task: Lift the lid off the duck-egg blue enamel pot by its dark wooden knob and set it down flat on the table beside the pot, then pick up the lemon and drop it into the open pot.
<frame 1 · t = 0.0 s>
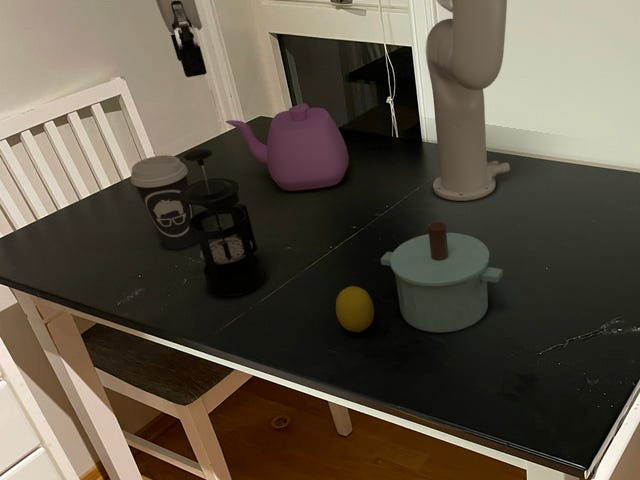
hand: (192, 67, 116), 31 cm above the table, tool pointing down, fingers open, 9 cm apart
coffee cup: (181, 241, 137), on the table
teapot: (309, 179, 156), on the table
pot: (444, 306, 115), on the table
lid: (440, 259, 110), point 8 cm above the table, touching pot
lemon: (359, 332, 111), on the table
french press: (238, 282, 125), on the table
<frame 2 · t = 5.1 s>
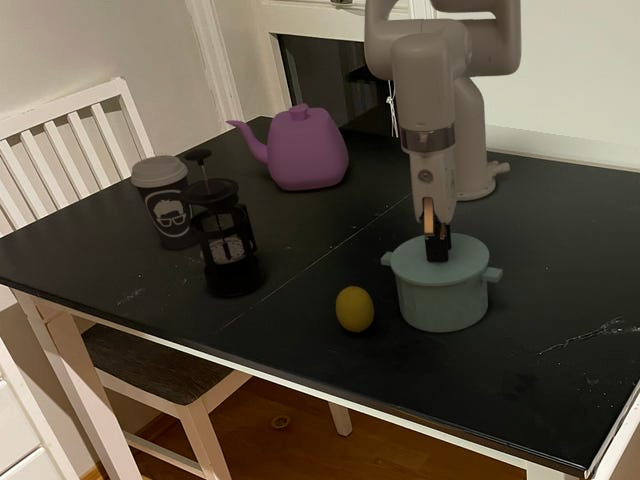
hand: (439, 254, 110), 9 cm above the table, tool pointing down, fingers closed on lid, 2 cm apart
lid: (440, 259, 110), point 9 cm above the table, touching gripper, pot
everything else where it was.
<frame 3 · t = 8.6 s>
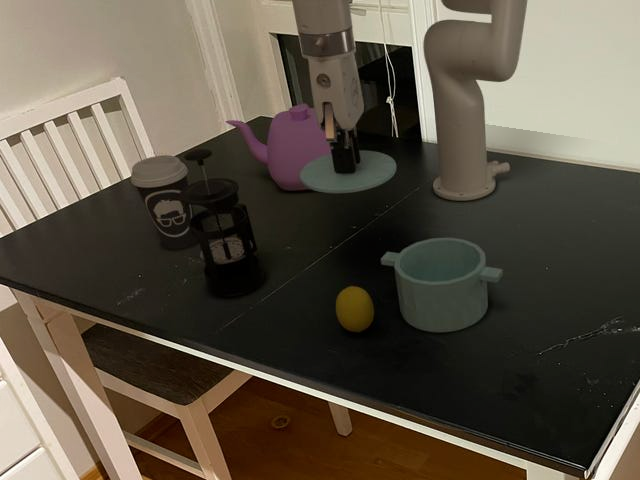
hand: (347, 166, 113), 19 cm above the table, tool pointing down, fingers closed on lid, 2 cm apart
lid: (348, 172, 114), point 18 cm above the table, touching gripper
everything else where it was.
when the fingers open (2 cm above the table, at t = 12.1 s): lid stays where it is, point 1 cm above the table.
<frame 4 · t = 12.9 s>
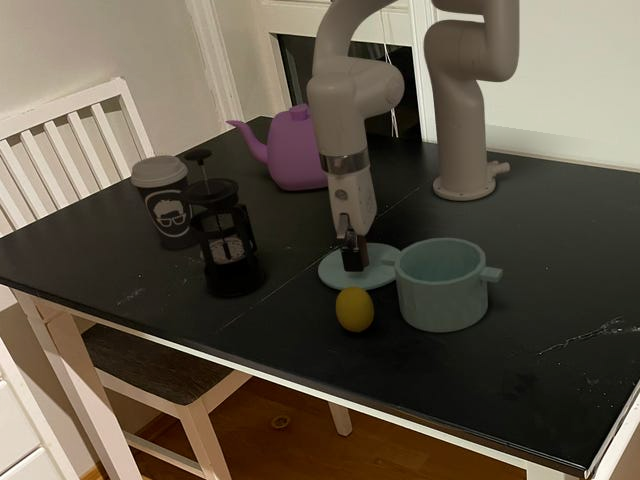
hand: (361, 255, 124), 3 cm above the table, tool pointing down, fingers open, 9 cm apart
lid: (362, 267, 125), point 1 cm above the table
everything else where it was.
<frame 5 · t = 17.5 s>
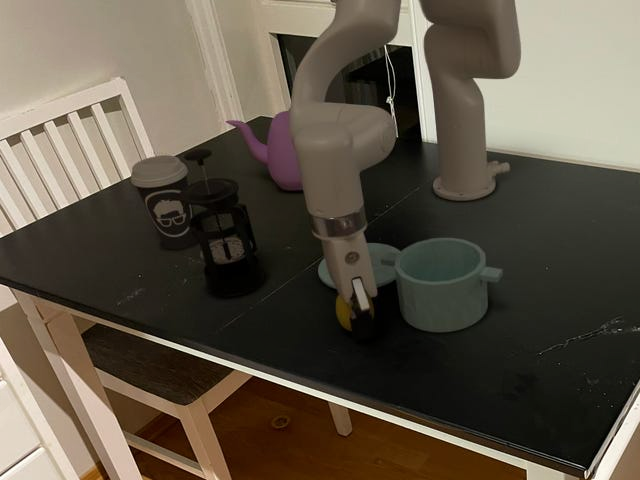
hand: (357, 325, 111), 1 cm above the table, tool pointing down, fingers closed on lemon, 5 cm apart
lemon: (359, 332, 111), on the table, touching gripper
everything else where it was.
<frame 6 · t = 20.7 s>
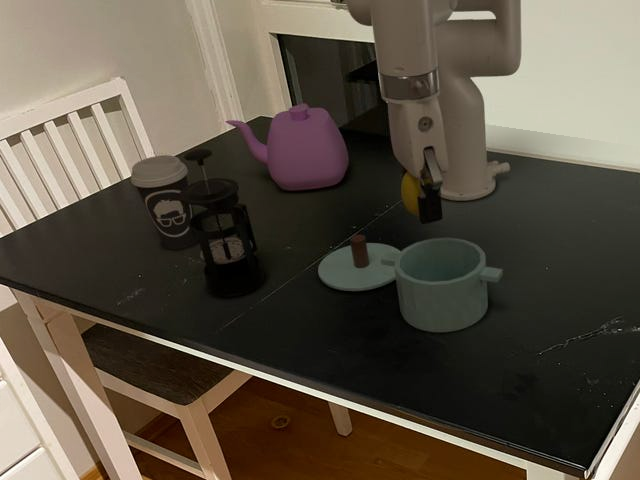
hand: (423, 210, 105), 17 cm above the table, tool pointing down, fingers closed on lemon, 5 cm apart
lemon: (424, 219, 105), point 16 cm above the table, touching gripper
everything else where it was.
when the fingers open (6 cm above the table, at t = 24.0 s): lemon drops 4 cm, resting on pot.
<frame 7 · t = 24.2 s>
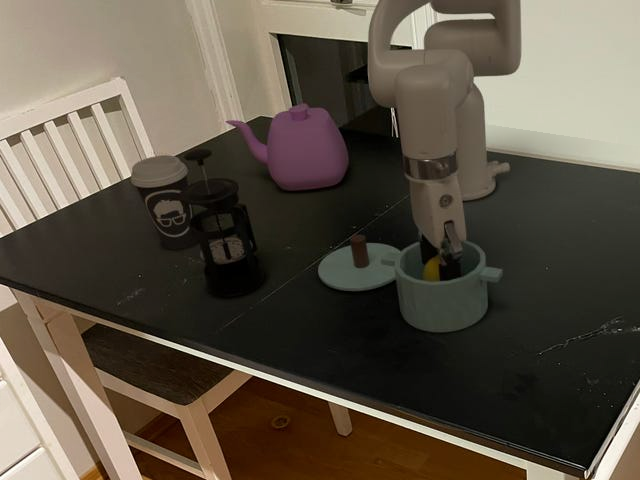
hand: (441, 272, 112), 6 cm above the table, tool pointing down, fingers open, 6 cm apart
lemon: (444, 303, 115), resting on pot, touching gripper
everything else where it was.
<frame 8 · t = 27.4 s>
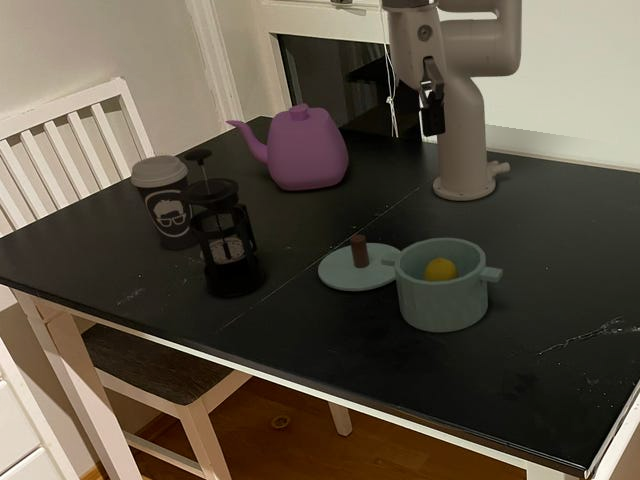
hand: (421, 123, 106), 26 cm above the table, tool pointing down, fingers open, 9 cm apart
lemon: (444, 303, 116), resting on pot
everything else where it was.
at the end: lid inside the target area (0.1 cm from its centre), point 0.6 cm above the table; lid tilted 0°; lemon inside the target area in the pot (0.5 cm from its centre), point 0.3 cm above the pot's base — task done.
